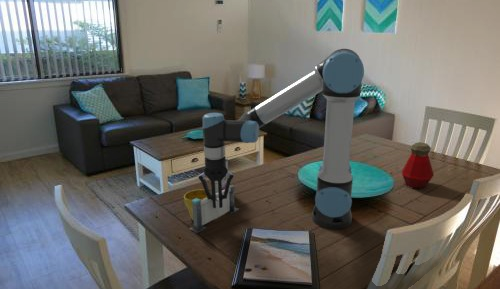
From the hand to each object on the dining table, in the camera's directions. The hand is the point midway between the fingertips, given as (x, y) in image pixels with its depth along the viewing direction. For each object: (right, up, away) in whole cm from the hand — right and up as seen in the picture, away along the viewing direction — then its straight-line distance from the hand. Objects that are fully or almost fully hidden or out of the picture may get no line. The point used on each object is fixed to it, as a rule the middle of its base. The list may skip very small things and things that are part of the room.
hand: (218, 215), depth 145 cm
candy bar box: (-1, +3, +23) cm, 23 cm away
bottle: (+89, +7, +35) cm, 96 cm away
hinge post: (+4, 0, +11) cm, 12 cm away
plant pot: (-8, -2, +5) cm, 10 cm away
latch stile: (-7, -5, -2) cm, 9 cm away
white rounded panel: (-1, -1, +5) cm, 6 cm away
